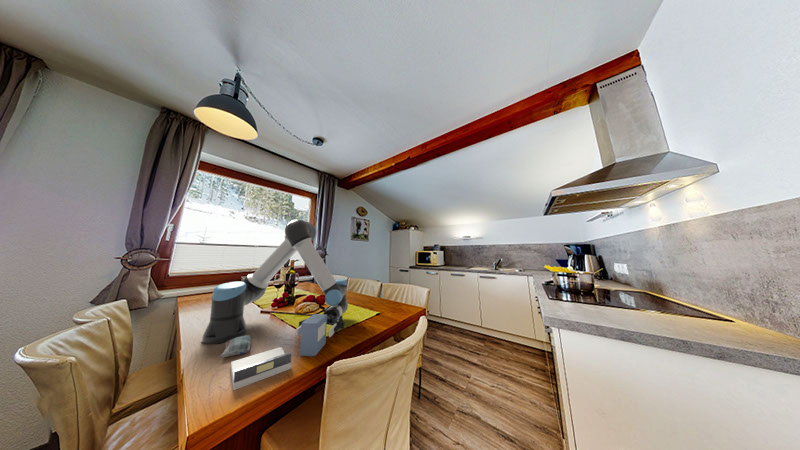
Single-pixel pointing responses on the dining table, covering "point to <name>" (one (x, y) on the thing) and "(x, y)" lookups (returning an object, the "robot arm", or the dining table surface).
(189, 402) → the dining table surface
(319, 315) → the carton
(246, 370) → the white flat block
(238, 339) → the packaged food
